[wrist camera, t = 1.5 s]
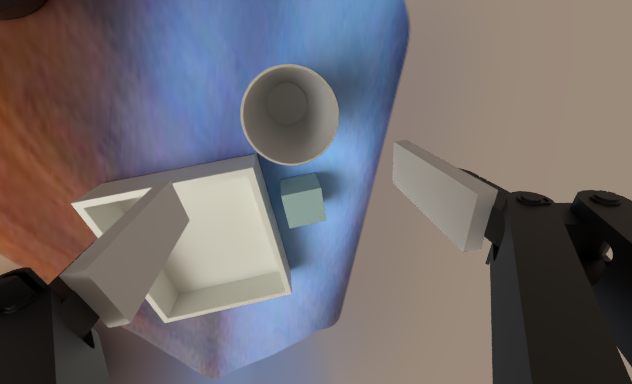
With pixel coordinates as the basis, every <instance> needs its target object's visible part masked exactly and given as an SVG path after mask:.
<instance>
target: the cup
mask: <svg viewBox="0 0 632 384" xmlns="http://www.w3.org/2000/svg"><path fill="white" fill-rule="evenodd" d="M240 114H241V124H242V128H243V131H244V134H245V136H246V138H247V140H248V141H249V143H250V144H251V146H252V147H253V148H254V149H255V150H256V151H257V152H258V153H259V154H260V155H261V156H263V157H264V158H266V159H268V160H269V161H272V162H274V163H277V164H281V165H288V166H294V165H301V164H305V163H308V162H310V161H312V160H314V159H316V158H318V157H319V156H320V155H322V154H323V153H324V152H325V151H326V150H327V149H328V147H329V146H330V145H331V143H332V141H333V139H334V137H335V135H336V132H337V129H338V124H339V108H338V103H337V100H336V97H335V95H334V92H333V91H332V89H331V87H330V86H329V84H328V83H327V82H326V81H325V80H324V79H323V78H322V77H321V76H320V75H319V74H317V73H316V72H315V71H313V70H311V69H309V68H307V67H304V66H301V65H296V64H281V65H277V66H273V67H271V68H268V69H266V70H265V71H263V72H261V73H260V74H259V75H258V76H256V77H255V78H254V79H253V81H252V82H251V83H250V84H249V86H248V88H247V89H246V91H245V94H244V96H243V99H242V103H241V113H240Z"/></svg>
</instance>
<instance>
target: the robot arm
mask: <svg viewBox="0 0 632 384" xmlns="http://www.w3.org/2000/svg"><path fill="white" fill-rule="evenodd" d="M45 1H46V0H0V20H8V19H15V18H19V17H22V16H25V15H28V14H30V13H32V12H33V11H35V10H36V9H38V8H39V7H40V6H41V5H42V4H43V3H44V2H45ZM392 182H393V183H394V184H395V185H396V186H397V187H398V188H399V189H400V190H401V191H402V192H403V193H404V194H405V195H406V196H407V197H408V198H409V199H410V200H411V201H412V202H413V203H414V204H415V205H416V206H417V207H418V208H419V209H420V210H421V211H422V212H423V213H424V214H425V215H426V216H427V217H428V218H429V219H430V220H431V221H432V222H433V223H434V224H435V225H436V226H437V227H438V228H439V229H440V230H441V231H442V232H443V233H444V234H445V235H446V236H447V237H448V238H449V239H450V240H452V241H453V242H454V243H455V244H456V245H457V246H458V247H459V248H460V249H461V250H462V251H463V252H467V251H471V250H476V249H481V246H482V243H483V240H484V237H486V238H487V239H488V240H489V241H491V242H492V245H491V248H490V251H489V254H488V257H487V261H486V264H489V263H490V279H491V318H492V319H491V324H492V366H493V367H492V368H493V384H632V381H631V379H630V377H629V375H628V372H627V370H626V367H625V365H624V363H623V361H622V358H621V356H620V353H619V351H618V349H619V350H620V351H621V353H622V354H623V355H624V357H625V358H626V360H627V361H628V362H629V364H630V365H631V366H632V201H631V200H629V199H627V198H625V197H623V196H619V195H616V194H615V193H612V192H606V191H601V190H600V191H594V190H586V191H581V192H578V193H577V195H576V197H575V199H574V201H573V203H554V202H553V200H551V199H549V198H548V197H546V196H543V195H540V194H537V193H532V192H522V191H518V192H512V193H510V192H508V191H506V190H504V189H502V188H500V187H499V186H497V185H495V184H493V183H491V182H489V181H486V179H484V178H482V177H479V176H478V175H476V174H474V173H472V172H470V171H467V170H464V169H460V168H456V167H455V166H453V165H451V164H449V163H447V162H446V161H444V160H442V159H440V158H439V157H437V156H435V155H433V154H431V153H429V152H428V151H426V150H424V149H422V148H420V147H419V146H417V145H415V144H413V143H411V142H409V141H408V140H402V141H396V142H394V154H393V180H392ZM189 221H190V219H189V217H188V215H187V213H186V211H185V209H184V207H183V205H182V203H181V201H180V199H179V197H178V195H177V193H176V191H175V189H174V187H173V184H172V182H171V181H166V182H160V183H156V184H155V185H154V186H153V187H152V188H151V189H150V190H149V191H148V192H147V193H146V194H145V195H144V196H143V197H142V198H140V199H139V200H138V201H137V202H136V203H135V204H134V205H133V206H132V207H131V208H130V209H129V210H128V211H127V212H126V213H125V214H124V215H123V216H122V217H120V218H119V219H118V220H117V221H116V222H115V223H114V224H113V225H112V226H111V227H110V228H109V229H108V230H107V231H106V232H105V233H104V234H103V235H101V236H100V237H99V238H98V239H97V240H96V241H95V242H93V243H92V244H91V245H90V246H89V247H88V248H87V249H86V250H85V251H84V252H83V253H82V254H80V255H79V256H78V257H77V258H76V259H75V261H73V262H72V263H71V264H70V265H69V266H68V267H67V268H66V269H65V270H64V271H62V272H61V273H60V274H59V275H58V276H57V277H56V278H55V279H54V280H53V281H52V282H51V283H50V284H49V285H47V284H46V283H45V282H44V281H43V280H42V279H41V278H40V277H39V276H38V275H37V274H36V273H35V272H34V271H33V270H32V269H31V268H20V269H16V270H12V271H10V272H7V273H5V274H2V275H0V384H111V382H110V379H109V375H108V371H107V367H106V363H105V359H104V355H103V351H102V348H101V343H100V340H99V335H98V333H97V332H96V331H95V330H94V329H93V328H92V327H93V326H94V324H95V323H96V322H97V320H98V319H99V318H100V319H101V320H102V321H103V322H104V323H105V324H106V325H107V326H108V327H115V326H120V325H124V324H129V323H131V321H132V320H133V318H134V316H135V314H136V313H137V311H138V309H139V308H140V306H141V304H142V302H143V301H144V299H145V297H146V295H147V294H148V292H149V290H150V288H151V287H152V285H153V283H154V282H155V280H156V278H157V276H158V275H159V273H160V271H161V269H162V268H163V266H164V264H165V262H166V261H167V259H168V257H169V256H170V254H171V252H172V250H173V249H174V247H175V245H176V243H177V242H178V240H179V238H180V236H181V235H182V233H183V231H184V230H185V228H186V226H187V224H188V223H189ZM610 247H611V249H612V251H613V258H612V260H610V258H608V256H607V255H606V253H607V252H608V250H609V248H610ZM617 347H618V349H617Z"/></svg>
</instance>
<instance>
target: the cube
mask: <svg viewBox="0 0 632 384" xmlns="http://www.w3.org/2000/svg"><path fill="white" fill-rule="evenodd" d="M281 198H282V202H283V206H284V209H285V213H286V217H287V221H288V225H289V228H295V227H299V226H304V225H308V224H313V223H318V222H322V221H327V220H326V214H325V208H324V202H323V196H322V190H321V186H320V183H319V181H318V178H317V175H316V172H315V173H310V174H305V175H300V176H295V177H290V178H285V179H281Z"/></svg>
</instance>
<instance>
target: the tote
mask: <svg viewBox="0 0 632 384" xmlns="http://www.w3.org/2000/svg"><path fill="white" fill-rule="evenodd" d="M166 181H171V182H172V184H173V187H174V189H175V191H176V193H177V195H178V197H179V199H180V201H181V203H182V205H183V207H184V209H185V211H186V213H187V215H188V217H189V219H190V221H189V223H188V224H187V226H186V228H185V230H184V231H183V233H182V235H181V236H180V238H179V240H178V242H177V243H176V245H175V247H174V249H173V250H172V252H171V254H170V256H169V257H168V259H167V261H166V262H165V264H164V266H163V268H162V269H161V271H160V273H159V275H158V276H157V278H156V280H155V282H154V283H153V285H152V287H151V288H150V290H149V292H148V294H147V295H146V297H145V298H146V300H147V301H148V302H149V304H150V305H151V306H152V307H153V309H154V310H155V311H156V312H157V314H158V315H159V316H160V318H161V319H162V320H163V321H164V323H168V322H172V321H176V320H181V319H185V318H190V317H194V316H198V315H203V314H207V313H211V312H216V311H220V310H224V309H229V308H233V307H238V306H242V305H246V304H251V303H255V302H259V301H264V300H268V299H272V298H277V297H281V296H286V295H290V294H292V287H291V271H290V267H289V263H288V260H287V256H286V253H285V249H284V246H283V243H282V239H281V236H280V232H279V229H278V225H277V222H276V219H275V215H274V212H273V208H272V205H271V201H270V198H269V195H268V191H267V188H266V184H265V181H264V177H263V174H262V171H261V167H260V164H259V160H258V157H257V154H252V155H246V156H241V157H236V158H231V159H226V160H221V161H215V162H210V163H205V164H200V165H195V166H190V167H185V168H179V169H174V170H169V171H164V172H159V173H154V174H148V175H143V176H138V177H133V178H128V179H123V180H118V181H112V182H107V183H102V184H101V185H99V186H97V187H96V188H94V189H93V190H91V191H90V192H88V193H86V194H85V195H83V196H82V197H80V198H79V199H77V200H75V201H74V202H72V203H71V204H72V206H73V207H74V208H75V209H76V211H77V212H78V213H79V214H80V216H81V217H82V218H83V220H84V221H85V222H86V223H87V225H88V226H89V227H90V228H91V230H92V231H93V232H94V234H95V235H96V236H97V237H98V238H99V237H100V236H101V235H103V234H104V233H105V232H106V231H107V230H108V229H109V228H110V227H111V226H112V225H113V224H114V223H115V222H116V221H117V220H118V219H119V218H120V217H122V216H123V215H124V214H125V213H126V212H127V211H128V210H129V209H130V208H131V207H132V206H133V205H134V204H135V203H136V202H137V201H138V200H139V199H140V198H142V197H143V196H144V195H145V194H146V193H147V192H148V191H149V190H150V189H151V188H152V187H153V186H154V185H155V184H156V183H160V182H166Z"/></svg>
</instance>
